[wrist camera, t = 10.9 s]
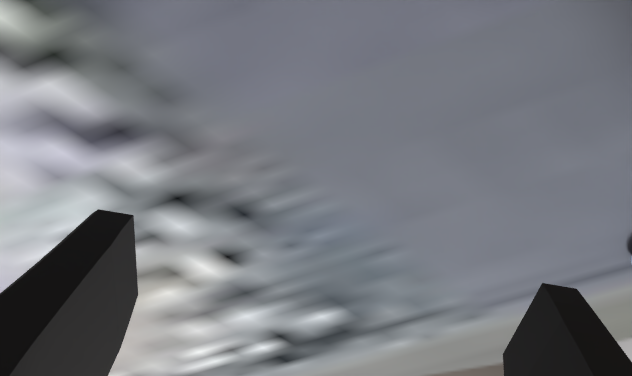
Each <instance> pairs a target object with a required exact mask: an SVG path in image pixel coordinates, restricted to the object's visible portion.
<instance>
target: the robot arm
mask: <svg viewBox="0 0 632 376" xmlns="http://www.w3.org/2000/svg"><path fill="white" fill-rule="evenodd" d="M630 260H631V264H632V256H631V258H630ZM137 296H138V286H137V269H136V252H135V235H134V218H133V215H129V214H123V213H117V212H110V211H104V210H97V211H95V212H94V213H92V214H91V215H90V216H89V217H88V218H87V219H86V220H85V221H83V222H82V223H81V224H80V225H79V226H78V227H77V228H76V229H75V230H74V231H72V232H71V233H70V234H69V235H68V236H67V237H66V238H65V239H64V240H62V241H61V242H60V243H59V244H58V245H57V246H56V247H55V248H53V249H52V250H51V251H50V252H49V253H48V254H47V255H45V256H44V257H43V258H42V259H41V260H40V261H39V262H37V263H36V264H35V265H34V266H33V267H32V268H30V269H29V270H28V271H27V272H26V273H24V274H23V275H22V276H21V277H20V278H18V279H17V280H16V281H15V282H14V283H12V284H11V285H10V286H9V287H8V288H6V289H5V290H4V291H3V292H2V293H0V376H108V374H109V372H110V369H111V367H112V365H113V363H114V361H115V359H116V356H117V354H118V352H119V350H120V348H121V345H122V342H123V339H124V336H125V333H126V330H127V327H128V324H129V321H130V318H131V315H132V312H133V309H134V305H135V302H136V299H137ZM503 363H504V376H632V362H631V361H630V359H629V358H628V357H627V355H626V354H625V353H624V351H623V350H622V349H621V347H620V346H619V345H618V343H617V342H616V341H615V339H614V338H613V337H612V335H611V334H610V333H609V331H608V330H607V328H606V327H605V326H604V324H603V323H602V322H601V320H600V319H599V318H598V316H597V315H596V314H595V312H594V311H593V310H592V308H591V307H590V306H589V304H588V303H587V302H586V300H585V299H584V298H583V296H582V295H581V294H580V293H579V291H578V290H577V289H574V288H568V287H562V286H556V285H550V284H544V283H542V285H541V287H540V288H539V290H538V292H537V294H536V296H535V297H534V299H533V301H532V303H531V305H530V306H529V308H528V310H527V312H526V314H525V315H524V317H523V319H522V321H521V323H520V324H519V326H518V328H517V330H516V332H515V333H514V335H513V337H512V339H511V341H510V342H509V344H508V346H507V348H506V350H505V351H504V353H503Z"/></svg>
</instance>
